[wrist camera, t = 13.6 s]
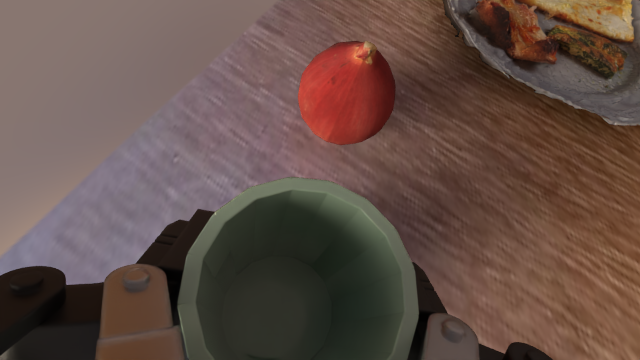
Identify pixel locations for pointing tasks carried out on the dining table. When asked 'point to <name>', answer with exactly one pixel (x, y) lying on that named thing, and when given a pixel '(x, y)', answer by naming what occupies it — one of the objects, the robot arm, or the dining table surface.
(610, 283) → the dining table surface
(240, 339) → the cup
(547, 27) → the food plate
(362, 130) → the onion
